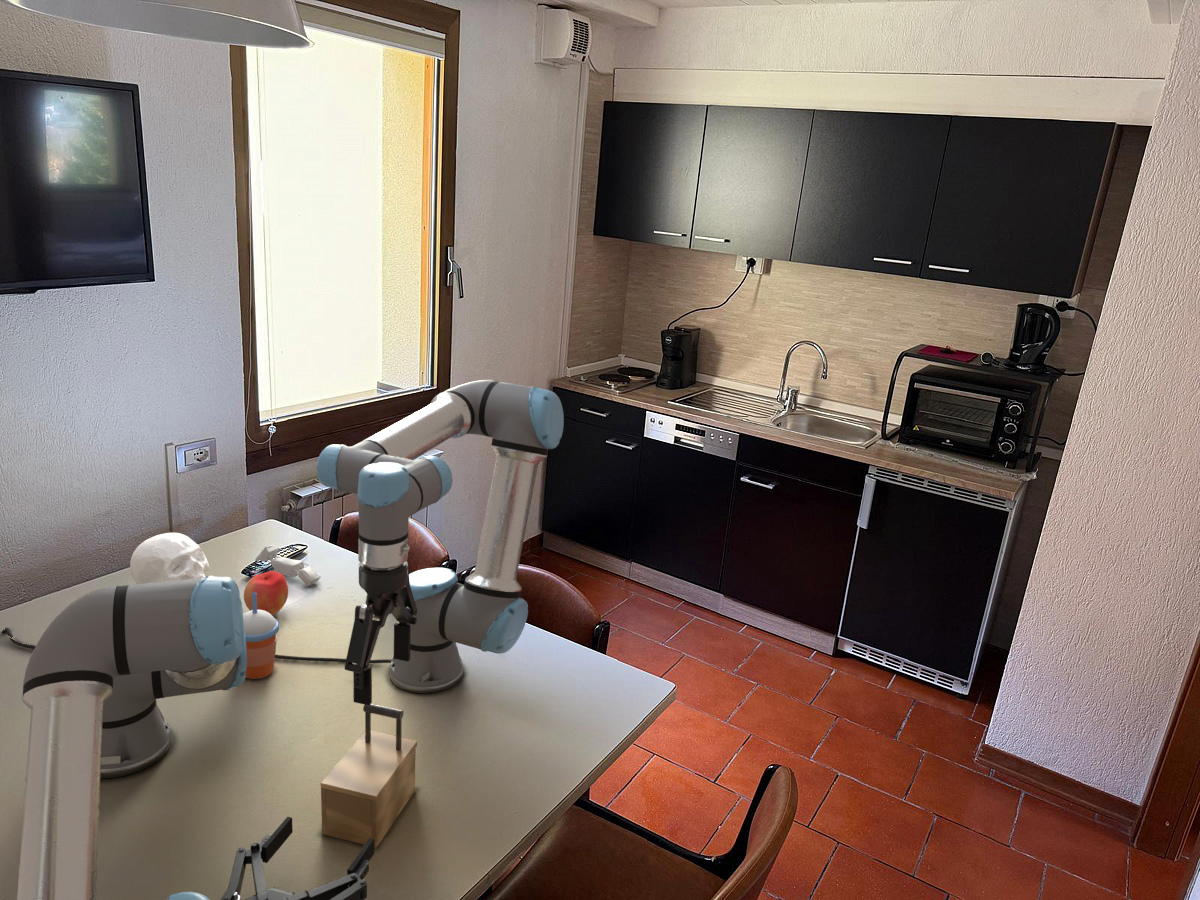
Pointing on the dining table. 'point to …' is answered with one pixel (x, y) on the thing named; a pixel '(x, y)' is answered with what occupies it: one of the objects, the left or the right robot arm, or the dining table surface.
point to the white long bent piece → (288, 565)
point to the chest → (367, 808)
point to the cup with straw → (259, 641)
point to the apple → (267, 592)
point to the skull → (168, 559)
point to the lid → (371, 758)
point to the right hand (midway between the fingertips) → (383, 680)
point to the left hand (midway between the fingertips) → (330, 834)
